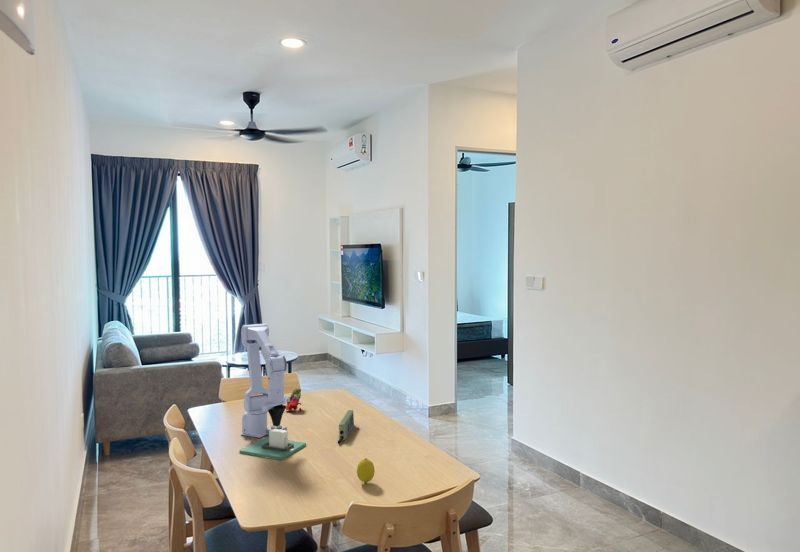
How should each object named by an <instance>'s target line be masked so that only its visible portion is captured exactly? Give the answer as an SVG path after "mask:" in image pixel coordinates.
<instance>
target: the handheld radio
mask: <svg viewBox="0 0 800 552" xmlns="http://www.w3.org/2000/svg"><path fill="white" fill-rule="evenodd" d="M354 420H355V419H354V409H347V411H346V413H345V414H344V416H343V417H342V419H341V421H339V424H338V432H339V433H338V435H339V436H338V437H339V439H338V440H337V444H338V445H340V444H341V443H342V442H343V441H345V440H346V439H347V437H349V434H350V432H351V431H352V429H353V427H354V426H355V421H354Z"/></svg>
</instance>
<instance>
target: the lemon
mask: <svg viewBox="0 0 800 552" xmlns="http://www.w3.org/2000/svg"><path fill="white" fill-rule="evenodd" d="M356 474H357V478H358V480H360V481H361V482H362V483H364V484H368V483H369V482H370V481H372V479H373V478H374V476H375V465H374V463H373V462H372V461H371V460H370V459H369V458H364V459H362V460H360V461H359V462H358V464H357V468H356Z"/></svg>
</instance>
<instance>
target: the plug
mask: <svg viewBox="0 0 800 552" xmlns="http://www.w3.org/2000/svg"><path fill="white" fill-rule="evenodd" d="M288 434H289V431H288V430H287V431H286V430H279V429H272V430H270V431H269V435H268V437H269V446H272V447H278V448H286V447H288Z"/></svg>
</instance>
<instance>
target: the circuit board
mask: <svg viewBox="0 0 800 552" xmlns="http://www.w3.org/2000/svg"><path fill="white" fill-rule="evenodd" d="M306 446H307V443H306V442H302V441H295V440H288V447H286V448H278V447H272V446H269V436H264V437H262V438H261V439H259V440H256V441H255V442H253V443H251V444H250V445H248V446H246V447H242V448H241V449H239V454H242V453H243V455H248V454H249V456H254V455H255V456H254V457H260V458H261V457H262V458H266V457H267V458H268V459H271V458H272V459H273V460H279V461H283V460H284V459H286V458H287V457H289V456H291V455H292V454H294V453H296V452H297V451H299V450H301V449H303V448H304V447H306ZM267 458H266V459H267ZM272 459H271V460H272Z"/></svg>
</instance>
